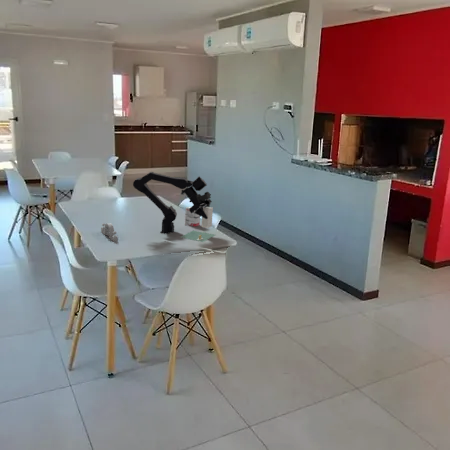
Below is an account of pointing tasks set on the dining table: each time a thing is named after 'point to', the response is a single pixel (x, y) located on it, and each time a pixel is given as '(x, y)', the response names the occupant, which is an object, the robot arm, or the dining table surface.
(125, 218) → the dining table surface
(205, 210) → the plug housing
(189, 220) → the ink box
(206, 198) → the robot arm
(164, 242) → the dining table surface
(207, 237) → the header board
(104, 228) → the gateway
